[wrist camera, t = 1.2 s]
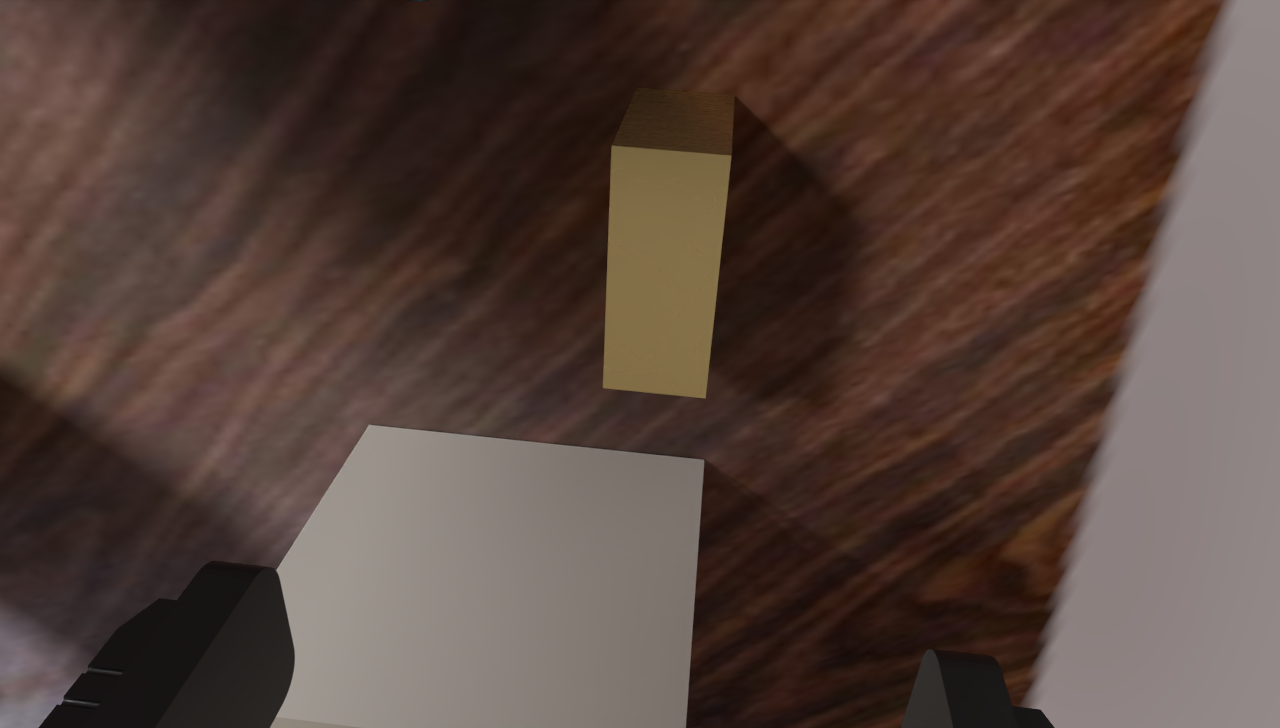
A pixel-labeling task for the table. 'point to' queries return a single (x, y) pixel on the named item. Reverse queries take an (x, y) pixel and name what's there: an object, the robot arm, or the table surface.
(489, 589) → the tissue box
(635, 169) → the tan wooden block
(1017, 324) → the table surface
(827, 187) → the table surface
